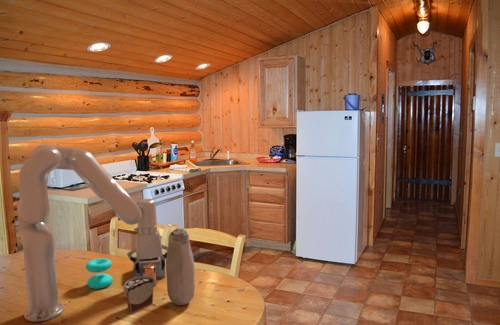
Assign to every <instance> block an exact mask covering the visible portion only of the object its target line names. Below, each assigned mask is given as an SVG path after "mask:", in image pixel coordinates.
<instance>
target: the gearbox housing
mask: <svg viewBox="0 0 500 325" xmlns="http://www.w3.org/2000/svg"><path fill="white" fill-rule="evenodd" d="M133 257H134V258H136V257H137V256H133ZM138 262H139V270H140V271H139V273H138V271H136V268H135V263H134V262H132V263H133V266H132V268H133V272H132V273H133V278H135V277H140V276H143V267H144V266H145V265H155V266H156V279H163V278H165V279H166V266H165V267H164V270H162V265H161V258H160V257H158V258H151V259H142V260H139V261H138Z"/></svg>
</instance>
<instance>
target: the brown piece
mask: <svg viewBox="0 0 500 325" xmlns="http://www.w3.org/2000/svg"><path fill="white" fill-rule="evenodd" d="M154 282H155V280H154V277H151V276H140V277H135V278H134V277H132V278H130V279H128V280H126V281H125V283H124V285H123V289H122V290H123V293H124V294H125V297H126V298H125V299H126V303H127V309H128V310H127V311H128V313H129V314H131V315H132V314H134V313H136V312H138V311H141V310H143V309H145V308H146V307H149V306H151V305H153V303H154V287H153V283H154ZM144 307H145V308H144ZM142 308H143V309H142Z"/></svg>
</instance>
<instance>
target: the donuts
mask: <svg viewBox="0 0 500 325" xmlns="http://www.w3.org/2000/svg"><path fill="white" fill-rule="evenodd" d="M112 265H113V264H112V260H110V259H109V258H105V257H101V258H95V259H91V260H89V261H88V262H87V263H86V264H85V269H86V270H87V271H88V272H90V273H94V275H91V276H90V277H89V278H88V279H87V282H86V285H87V287H89V289H92V290H93V289H94V290H98V289H103V288H107V287H109V286H110V285H111V284H112V283H113V280H114V278H113V277H112V276H111V275H110V274H108V273H103V272H105V271H108V270H109V269H110V268H111V267H112ZM96 273H97V274H96Z"/></svg>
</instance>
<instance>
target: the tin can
mask: <svg viewBox="0 0 500 325" xmlns="http://www.w3.org/2000/svg"><path fill="white" fill-rule="evenodd" d="M143 276H151V277H154V280H155V282H154V283H153V288H155V287H156V286H157V278H156V266H155V265H145V266H144V267H143Z"/></svg>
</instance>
